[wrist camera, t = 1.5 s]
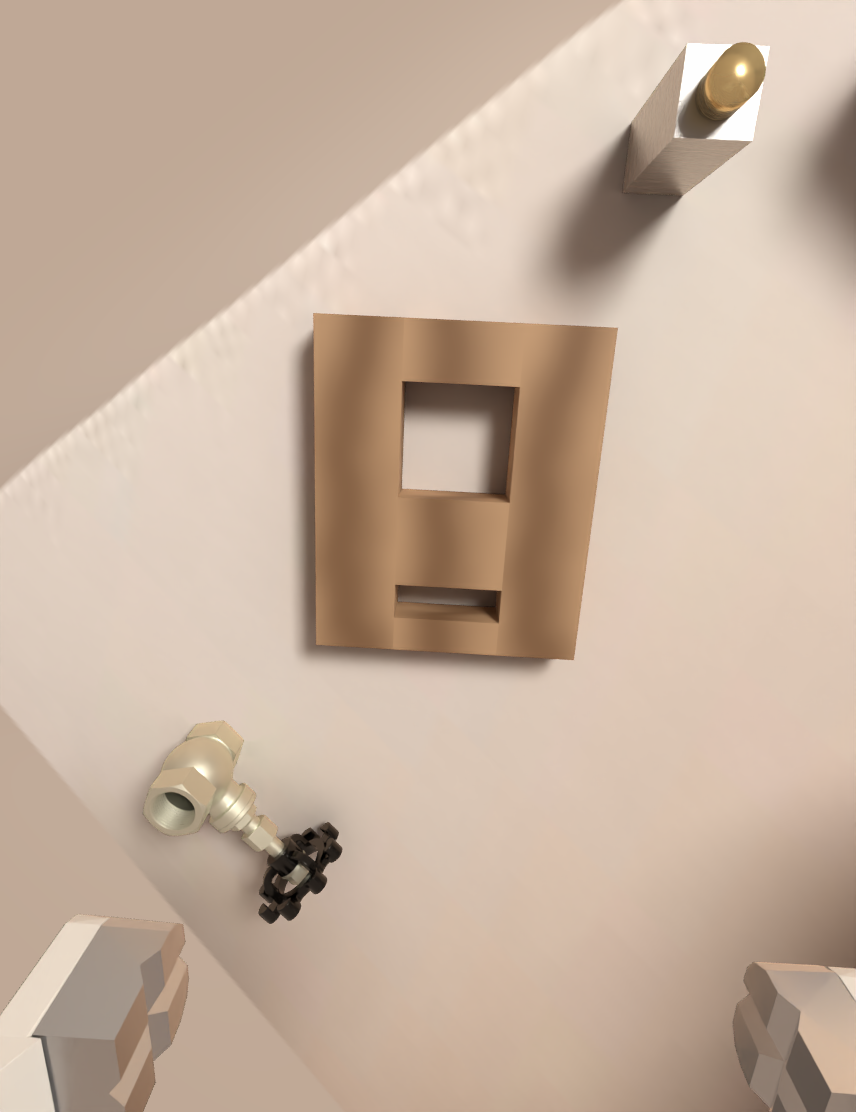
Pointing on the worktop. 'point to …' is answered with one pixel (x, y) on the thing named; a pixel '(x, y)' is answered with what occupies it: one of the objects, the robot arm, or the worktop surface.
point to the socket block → (455, 517)
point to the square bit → (695, 118)
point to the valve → (236, 816)
